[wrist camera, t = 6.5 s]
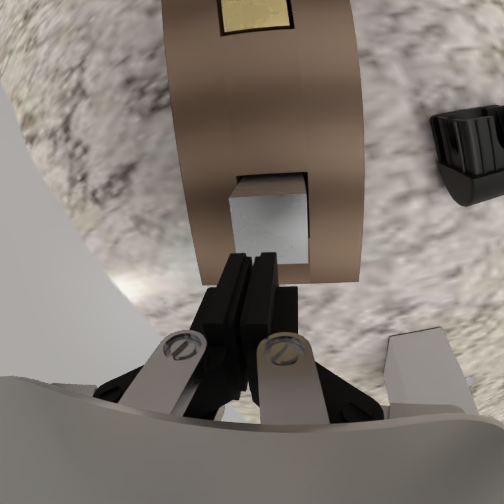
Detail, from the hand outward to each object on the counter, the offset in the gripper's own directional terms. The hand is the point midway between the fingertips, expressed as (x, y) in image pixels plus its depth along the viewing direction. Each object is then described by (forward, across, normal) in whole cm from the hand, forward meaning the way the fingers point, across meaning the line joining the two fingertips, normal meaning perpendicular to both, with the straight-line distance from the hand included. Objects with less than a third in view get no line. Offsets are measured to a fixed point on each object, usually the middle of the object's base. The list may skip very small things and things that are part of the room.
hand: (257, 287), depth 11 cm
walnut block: (+15, 0, -7) cm, 17 cm away
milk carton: (+16, -16, +21) cm, 31 cm away
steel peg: (+11, 0, 0) cm, 11 cm away
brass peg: (+15, 0, -14) cm, 21 cm away
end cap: (+16, -19, -4) cm, 25 cm away
